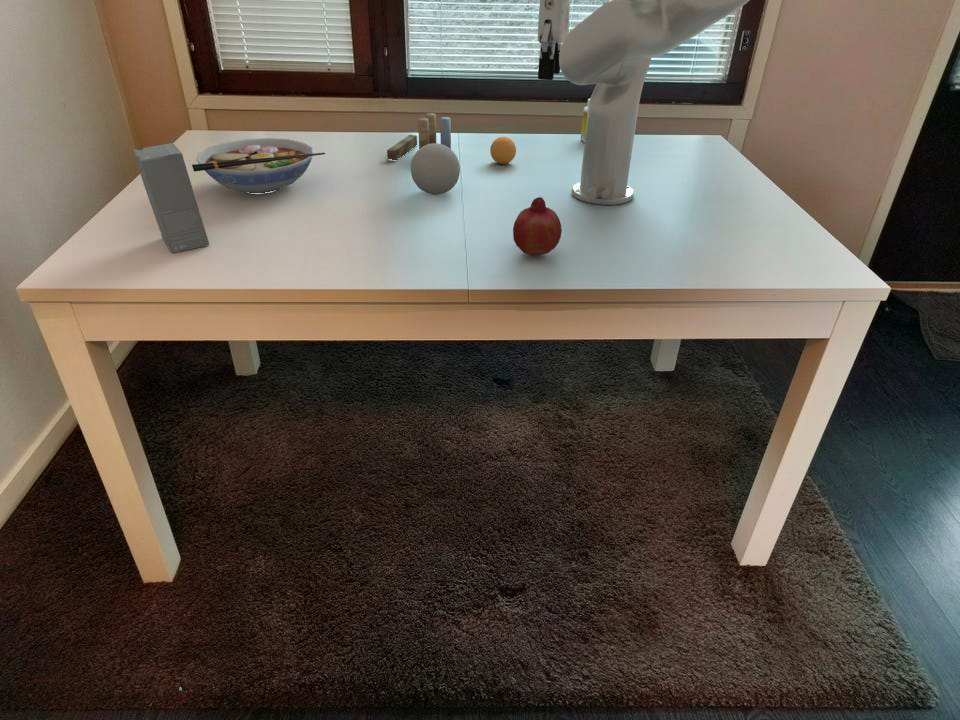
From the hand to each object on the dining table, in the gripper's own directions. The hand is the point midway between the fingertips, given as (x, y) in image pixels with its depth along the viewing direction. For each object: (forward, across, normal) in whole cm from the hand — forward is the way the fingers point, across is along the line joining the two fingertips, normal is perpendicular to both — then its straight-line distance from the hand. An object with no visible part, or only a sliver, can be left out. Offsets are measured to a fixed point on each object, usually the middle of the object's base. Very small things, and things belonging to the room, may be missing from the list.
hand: (549, 75), depth 137 cm
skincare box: (+20, -61, +50) cm, 82 cm away
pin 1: (+20, -3, +28) cm, 34 cm away
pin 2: (+20, +2, +28) cm, 34 cm away
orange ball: (+17, 0, +10) cm, 19 cm away
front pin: (+20, 0, +24) cm, 31 cm away
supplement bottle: (+20, +26, -8) cm, 34 cm away
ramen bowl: (+20, -33, +52) cm, 65 cm away
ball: (+20, -24, +18) cm, 36 cm away
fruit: (+20, -47, -8) cm, 52 cm away
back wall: (+20, 0, +34) cm, 40 cm away
